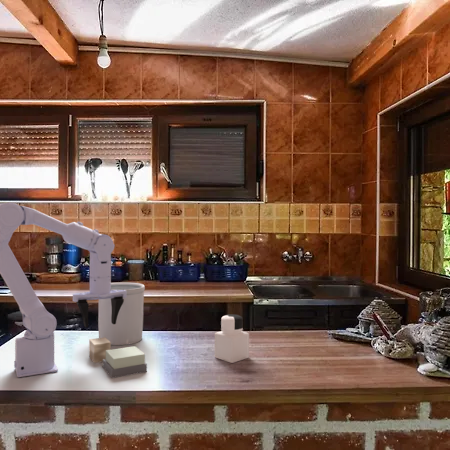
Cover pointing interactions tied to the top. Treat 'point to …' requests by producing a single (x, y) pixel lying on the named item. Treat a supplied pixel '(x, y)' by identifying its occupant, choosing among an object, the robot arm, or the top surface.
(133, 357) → the tower top
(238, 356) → the medicine bottle
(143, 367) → the tower base
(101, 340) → the birch block
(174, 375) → the top surface
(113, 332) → the utensil holder
